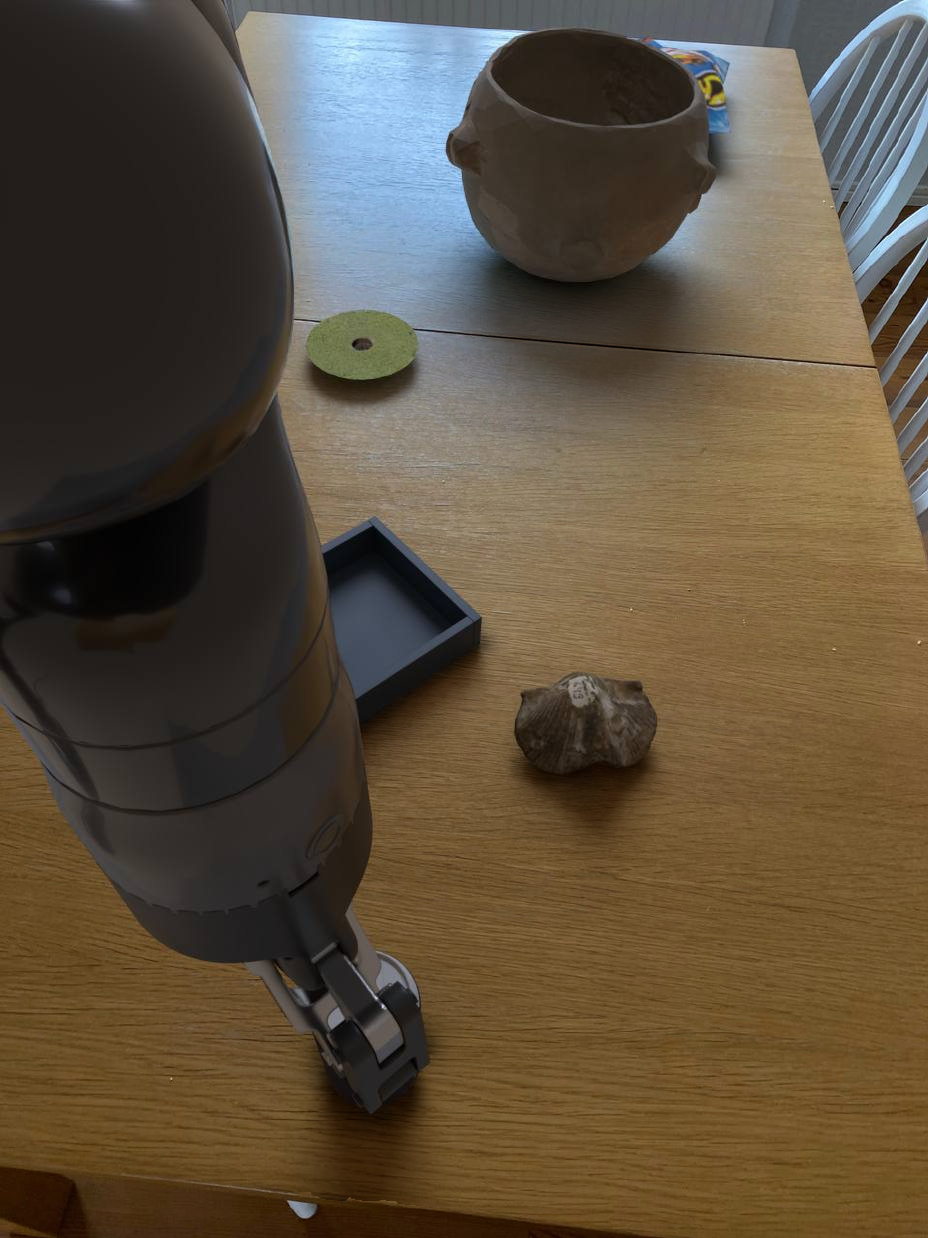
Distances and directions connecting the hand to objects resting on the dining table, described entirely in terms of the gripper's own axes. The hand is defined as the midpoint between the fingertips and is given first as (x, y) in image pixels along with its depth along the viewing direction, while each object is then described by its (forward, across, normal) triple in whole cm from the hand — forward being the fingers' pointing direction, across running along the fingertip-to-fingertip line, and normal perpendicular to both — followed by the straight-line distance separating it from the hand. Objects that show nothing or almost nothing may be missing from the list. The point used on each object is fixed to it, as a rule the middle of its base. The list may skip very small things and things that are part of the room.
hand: (296, 965), depth 38 cm
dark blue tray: (+23, -26, +17) cm, 39 cm away
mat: (+23, -54, +41) cm, 72 cm away
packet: (+24, -72, +104) cm, 129 cm away
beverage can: (+23, 0, +2) cm, 23 cm away
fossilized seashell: (+23, -8, +27) cm, 37 cm away
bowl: (+24, -55, +71) cm, 93 cm away
